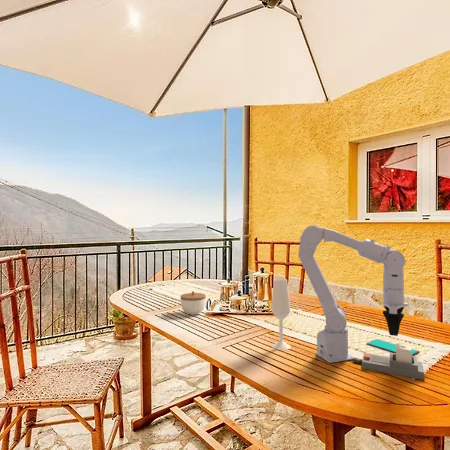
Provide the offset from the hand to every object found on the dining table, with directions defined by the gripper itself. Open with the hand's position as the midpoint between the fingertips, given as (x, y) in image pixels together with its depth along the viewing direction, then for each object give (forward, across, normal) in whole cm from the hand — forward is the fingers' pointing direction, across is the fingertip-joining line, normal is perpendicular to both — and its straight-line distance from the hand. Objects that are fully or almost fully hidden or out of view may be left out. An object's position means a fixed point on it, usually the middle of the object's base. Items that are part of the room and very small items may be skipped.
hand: (393, 331), depth 100 cm
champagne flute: (+10, -2, +36) cm, 37 cm away
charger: (+8, -5, -3) cm, 10 cm away
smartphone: (+10, +14, +1) cm, 17 cm away
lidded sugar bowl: (+10, +21, +90) cm, 93 cm away
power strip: (+10, -5, +2) cm, 11 cm away
